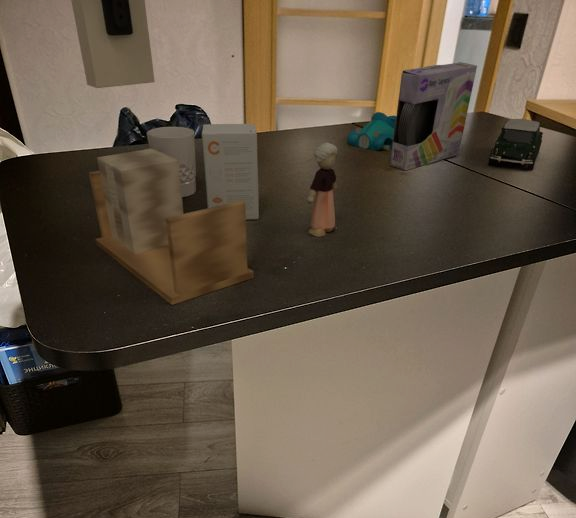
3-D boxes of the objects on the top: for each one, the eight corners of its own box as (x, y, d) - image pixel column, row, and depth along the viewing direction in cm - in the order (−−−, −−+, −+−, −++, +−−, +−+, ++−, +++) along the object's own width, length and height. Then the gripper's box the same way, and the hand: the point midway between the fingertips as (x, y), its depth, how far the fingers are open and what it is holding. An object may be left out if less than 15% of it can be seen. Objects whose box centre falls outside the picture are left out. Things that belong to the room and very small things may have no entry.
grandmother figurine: (326, 241, 80) (332, 150, 72) (302, 237, 81) (305, 147, 73) (341, 223, 86) (348, 138, 78) (318, 220, 87) (323, 135, 79)
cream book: (97, 88, 67) (77, -23, 60) (87, 85, 69) (66, -24, 62) (155, 82, 71) (142, -23, 64) (144, 79, 73) (130, -23, 66)
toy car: (343, 144, 126) (345, 112, 122) (387, 131, 137) (390, 102, 132) (381, 152, 120) (385, 120, 116) (424, 139, 131) (429, 108, 127)
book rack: (171, 305, 64) (158, 204, 57) (96, 245, 77) (77, 157, 70) (254, 278, 70) (251, 183, 63) (170, 227, 83) (160, 144, 76)
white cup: (174, 182, 101) (168, 124, 95) (208, 190, 98) (203, 130, 92) (145, 194, 96) (136, 133, 89) (179, 202, 92) (173, 139, 86)
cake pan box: (402, 172, 108) (417, 71, 98) (384, 166, 111) (396, 68, 101) (460, 157, 118) (479, 64, 108) (442, 152, 121) (458, 61, 111)
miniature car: (538, 152, 122) (549, 114, 117) (531, 173, 109) (543, 130, 104) (497, 148, 125) (506, 109, 120) (485, 167, 112) (495, 125, 107)
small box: (257, 206, 91) (255, 122, 83) (259, 220, 86) (257, 132, 78) (208, 207, 91) (202, 123, 83) (208, 221, 86) (201, 132, 78)
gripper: (15, -173, 58) (58, 30, 70) (76, -201, 48) (114, 41, 60) (82, -163, 62) (112, 27, 73) (151, -188, 52) (173, 37, 63)
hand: (113, 32), depth 66 cm, fingers closed on cream book, 3 cm apart
